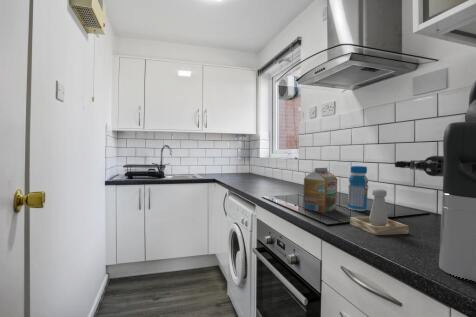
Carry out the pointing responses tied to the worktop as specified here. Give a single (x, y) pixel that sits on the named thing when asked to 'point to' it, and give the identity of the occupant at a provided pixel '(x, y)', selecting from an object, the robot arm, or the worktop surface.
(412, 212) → the worktop surface
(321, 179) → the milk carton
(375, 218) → the salt shaker
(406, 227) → the tray
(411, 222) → the worktop surface
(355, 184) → the beverage bottle
